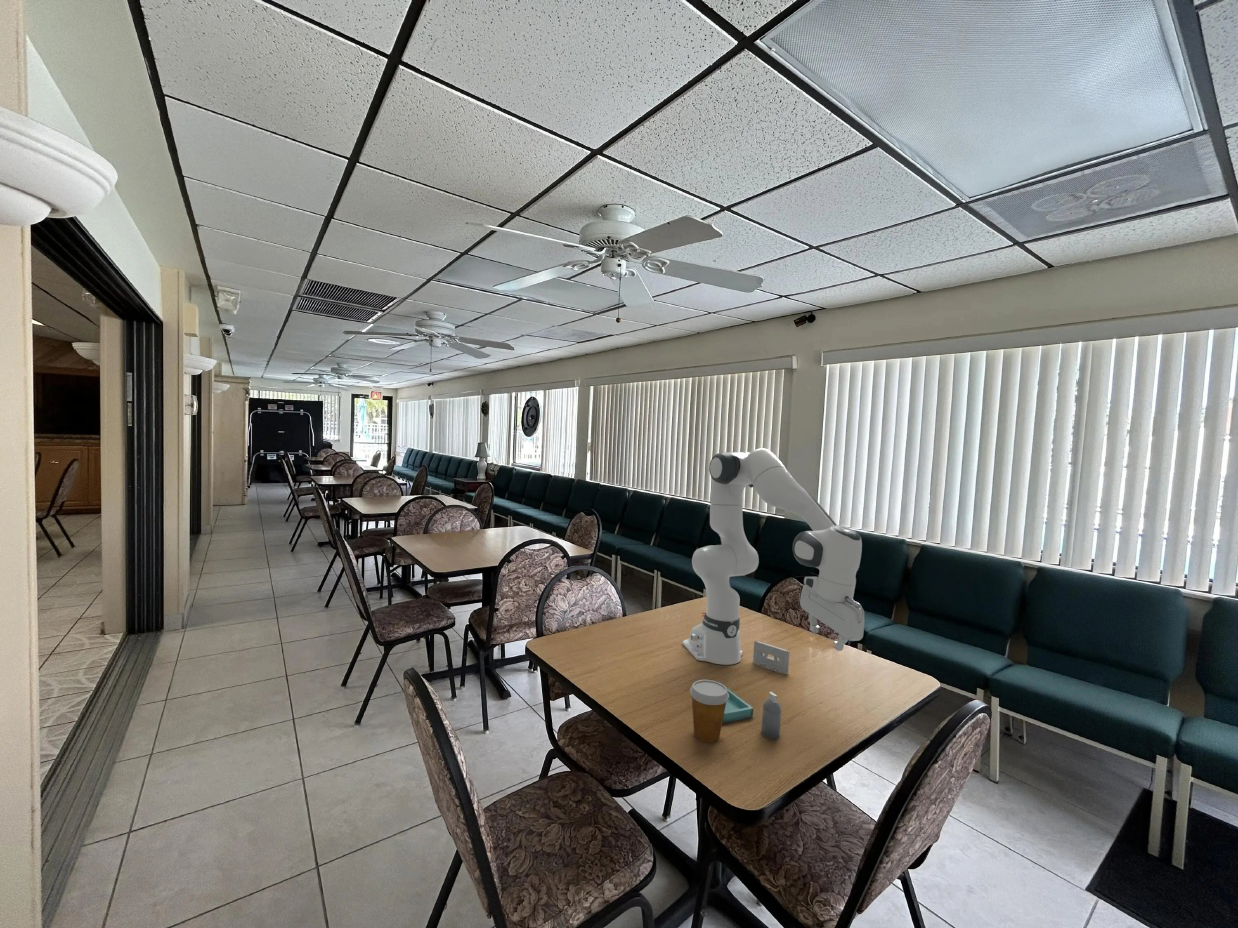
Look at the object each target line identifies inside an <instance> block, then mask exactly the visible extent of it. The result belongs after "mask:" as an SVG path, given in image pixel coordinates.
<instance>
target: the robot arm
mask: <svg viewBox="0 0 1238 928" xmlns="http://www.w3.org/2000/svg"><path fill="white" fill-rule="evenodd" d="M708 471H709V475H710V477H711V479H712V484H711V488H710V489H711V490H710V497H709V498H710V499H709V500H710V501H709V526H710V528H711V530H713V531H714V532H716V533H717V534H718V536H719V537H720V542H721V544H716V545H712V544H711V545H705V546H703V547H700V548H697V549H696V550H695V551H693V555H692V557H691V558H692V559H691V565H692V569H693V571H694V573H695V574H696V575H697V576H698V577H699V578H701V580H702V582H703V584H704V587H705V591H706V592H705V593H706V608H705V609H706V611H705V612H703V613H701V617H703V619H702V621H701V623H698V625H696V626H693V627H692V628H691V630H690V634H689V638H686V639H684V640H683V641H682V645H683V646H684V647H685V648H686V650H687V651H688V652H689V653H690V654H691V655H692V656H693V657H694V658H695V660H697V661H701V662H708V663H712V664H715V665H716V664H717V665H723V666H726V665H727V666H731V665H735V664H738V663H739V662H741V661H742V658H741V657H742V655H743V650H742V648H741V631H740V630H739V629H740V624H741V622H740V620H741V619H740V617H739V615H740V603H741V601H740V600H741V599H740V595H739V593H738V592H737V591H736V590H735V589H734V588H732V586H731V584H730V578H731V577H741V576H746V575H749V574H751V573H753V572H755V571H756V570H757V569H758V567H759V563H760V561H759V560H760V559H759V554H758V551H757V550H756V549H755V548H754V546H752V545H751V543H750V542H749V541H748V539H747V536H746V534H745V530H744V519H743V518H744V517H743V516H744V515H743V514H744V513H743V491H744V490H745V488H746V487H747V486H748V487H749V488H750V489H751V488H754V489H755V491H756V493H757V494H758V496H759V497H760V499H761V500H763V501H764V502H765V504H767V505H769V506H771V507H773V508H778V509H781V510H785V511H787V512H791V513H793V514H795V515H797V516H799V517H800V518H802V519H803V520H804V521H805V522H806V523H807V525H809V527H810V529H811V530H806V531H800V532H799V533H798V534H797V535H796V536H795V537H794V539H793V542H792V553H793V557H794V558H795V560H796V561H797V562H798V564H799V565H802V566H805V567H809V568H810V567H811V568H816V569H818V570H819V572H818V573H819V574H818V576H804V579H803V584H804V585H803V587H802V589H801V594H800V599H799V601H800V602H799V604H800V608H801V609H802V610H803V611H805V612H806V613H808V620H809V624H810V625H809V632H812V633H813V634H818V633H819V629H820V626H819V625H818V621H819V622H821V623H823V624H824V625H826V626H827V627H828V628H830V629H832V630H833V631H834V632H836V633H837V634H838V635H837V636H838V638H839V639H838V640H837V641H836V640H835V641H834V642H833V646H832V647H833V648H834V649H835V650H836V651H838V652H842V651H843V650H844V645H845V644H846V643H848V641H850V642H855V641H856V642H857V641H861V640H862V639H863V637H864V630H865V610H864V608H863V607H862V604H861V603H859V602H858V601H855V600H854V594H855V589H856V584H857V578H856V575H857V572H858V571H859V568H860V564H861V559H862V553H863V552H862V551H863V549H862V548H863V542H862V537H861V535H860V533H858V532H857V531H855V530H853V529H851V528H849V527H846V526H842V525H838V524H837V523H836V522H835V521H834V520H833V518H832V517H831V516H830V515H829V514H828V512H827V511H825V509H824V508H823V507H822V505H821V504H820V503H819V502H818V500H817V499H815V498H814V497H813V496H812V495H811V494H810V493H809V492H808V491H807V490H805V488H803V487H802V486H801V485H800V483H798V482H797V480H796V479H795V478H794V477H793V476H792V474H791V473H790V472H789V470H788V469H787V467H786V466H785V465H784V463H783V462H782V461H781V460H780V458H778V457H777V456H776V455H775V454H774V453H773V452H772V451H771V450H769V449H768V448H764V447H760V448H756V449H753V450H752V451H750V452H749V451H740V452H738V451H736V452H735V451H733V452H728V451H724V452H719V453H716V454H714V455H713V456H712V458H711V460H710V463H709V469H708Z"/></svg>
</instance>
